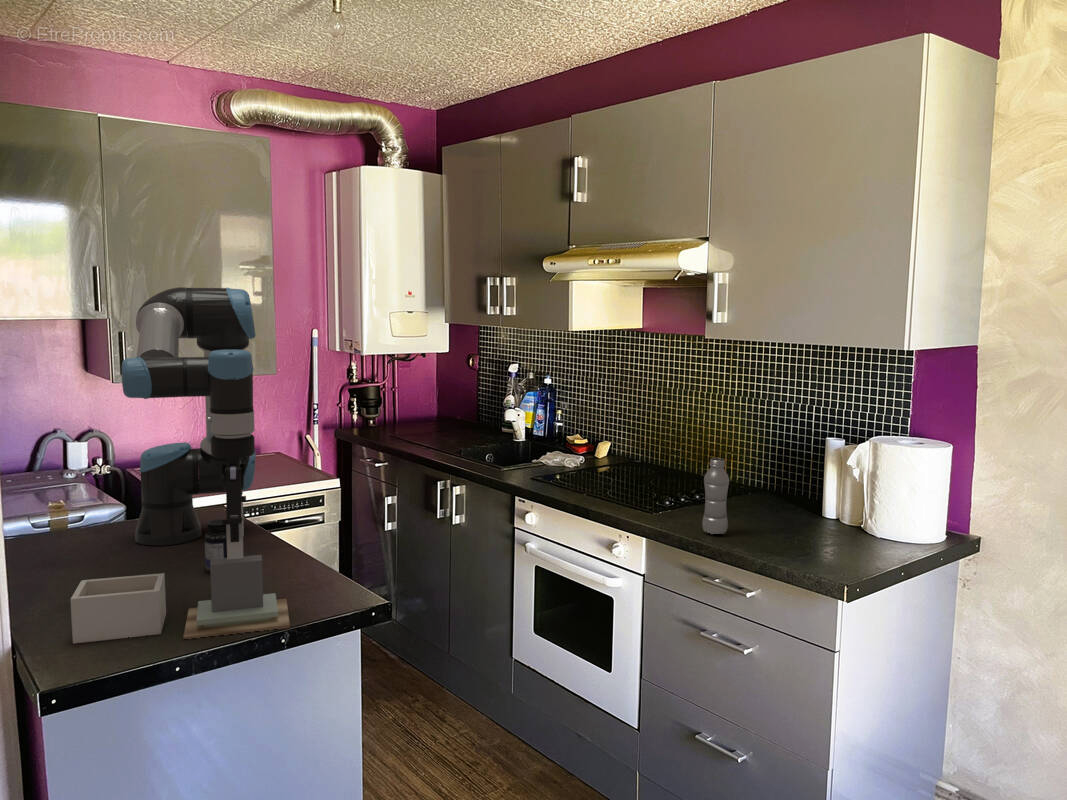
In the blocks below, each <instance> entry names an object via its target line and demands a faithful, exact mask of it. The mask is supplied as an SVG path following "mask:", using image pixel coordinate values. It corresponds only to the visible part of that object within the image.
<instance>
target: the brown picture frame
mask: <svg viewBox="0 0 1067 800" xmlns="http://www.w3.org/2000/svg"><path fill="white" fill-rule="evenodd" d="M276 600H277V607H278V617H271V620H267V621H258V622H250V623H241V624H232V625H223V626H215V627H206V628H205V625H200V626H197V622H196V620H197V610H198V607H190V608H188V610H187V616H186V620H185V626H184V632H183V640H184V639H189V640H192V639H191V638H197V639H201V638H200V637H206V638H209V637H208V636H215V637H220V636H219V635H224V636H230V635H229V634H233V635H238V634H237V633H242V634H246V633H245V632H251V633H255V632H254V631H260V632H267V631H266V630H269V631H274V630H273V629H278V630H286V629H290V628H291V625H290V617H289V616H290V615H289V609H288V602H287V598H281V599H279V598H278V599H276ZM264 630H265V631H264Z"/></svg>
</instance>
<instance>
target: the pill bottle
mask: <svg viewBox="0 0 1067 800" xmlns="http://www.w3.org/2000/svg"><path fill="white" fill-rule="evenodd" d="M222 520H226V518H221V519H220V518H218V519H212V520H209V521H208V522H207V527H206V528H207V529H208V532H207V533H205V534H204V555H205V558H204V559H205V560H204V561H205V571H206V573H209V574H211V573H210V561H211V559H219V558H227V533H226V525H222Z"/></svg>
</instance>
